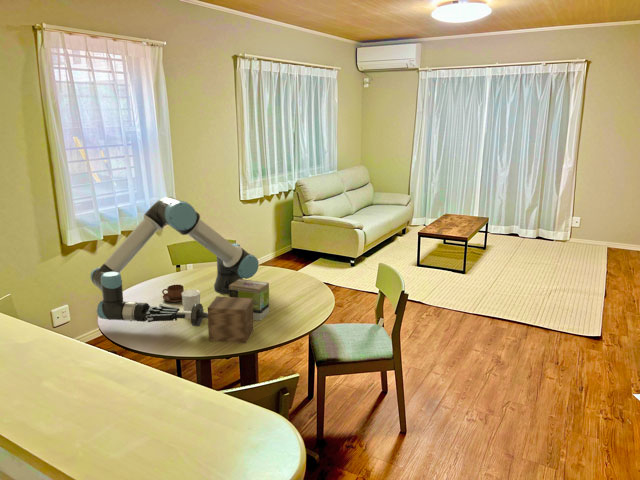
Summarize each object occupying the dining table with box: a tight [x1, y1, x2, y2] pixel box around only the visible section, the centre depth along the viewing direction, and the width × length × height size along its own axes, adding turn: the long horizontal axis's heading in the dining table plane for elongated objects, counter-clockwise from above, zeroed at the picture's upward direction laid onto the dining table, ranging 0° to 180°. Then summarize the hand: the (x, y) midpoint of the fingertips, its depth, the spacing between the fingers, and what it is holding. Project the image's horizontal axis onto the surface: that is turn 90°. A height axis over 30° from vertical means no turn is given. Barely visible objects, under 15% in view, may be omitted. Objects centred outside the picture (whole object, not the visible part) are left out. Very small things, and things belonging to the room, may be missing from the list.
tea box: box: [228, 278, 270, 322], centre depth 211 cm, size 15×10×15 cm, turn 71°
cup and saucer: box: [161, 284, 185, 303], centre depth 227 cm, size 12×12×6 cm
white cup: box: [181, 289, 201, 311], centre depth 210 cm, size 8×8×10 cm
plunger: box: [190, 303, 208, 327], centre depth 191 cm, size 16×9×9 cm, turn 85°
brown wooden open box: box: [207, 296, 254, 344], centre depth 191 cm, size 15×12×14 cm
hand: (193, 315), depth 191 cm, fingers closed
